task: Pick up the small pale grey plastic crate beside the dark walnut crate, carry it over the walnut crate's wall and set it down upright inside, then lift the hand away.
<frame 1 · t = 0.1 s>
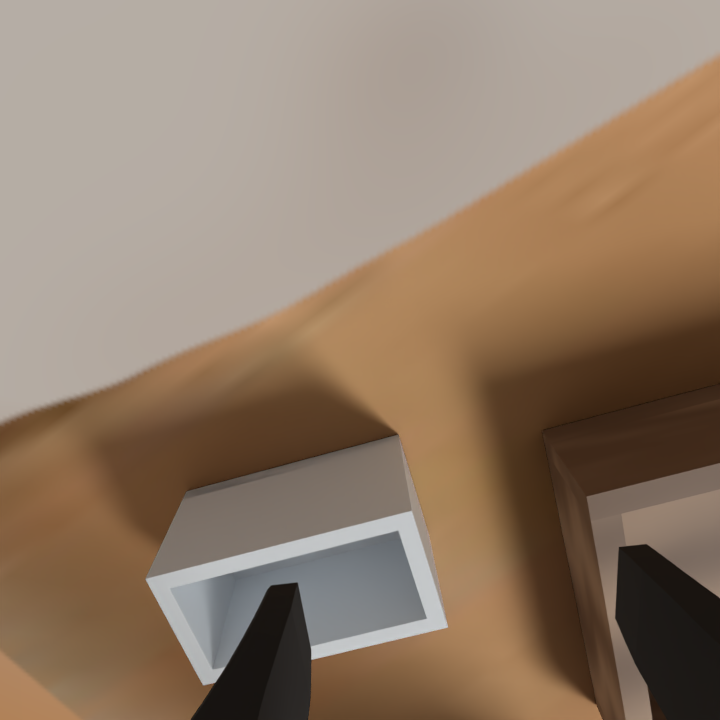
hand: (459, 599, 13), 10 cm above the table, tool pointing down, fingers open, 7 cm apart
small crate: (310, 513, 24), on the table
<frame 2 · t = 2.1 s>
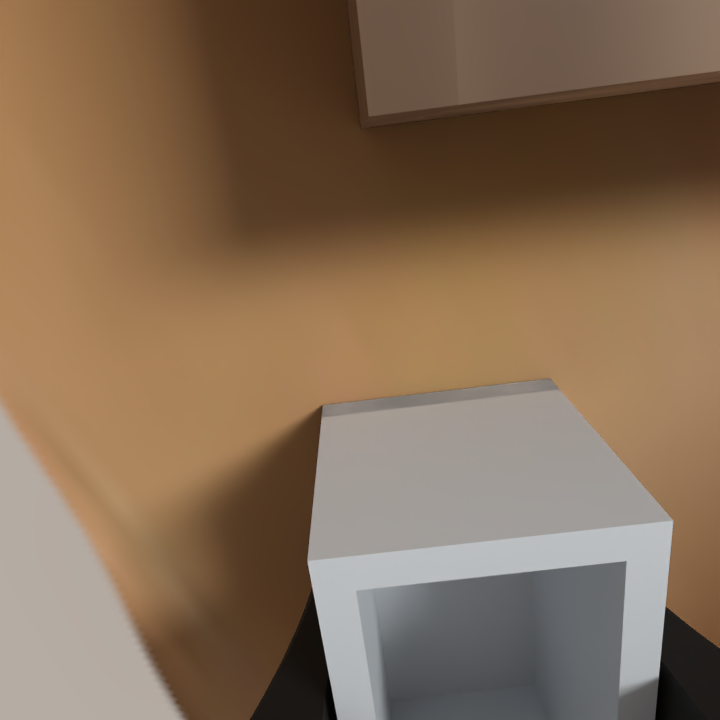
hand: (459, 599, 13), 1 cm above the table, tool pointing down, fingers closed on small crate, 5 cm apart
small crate: (449, 557, 14), on the table, touching gripper
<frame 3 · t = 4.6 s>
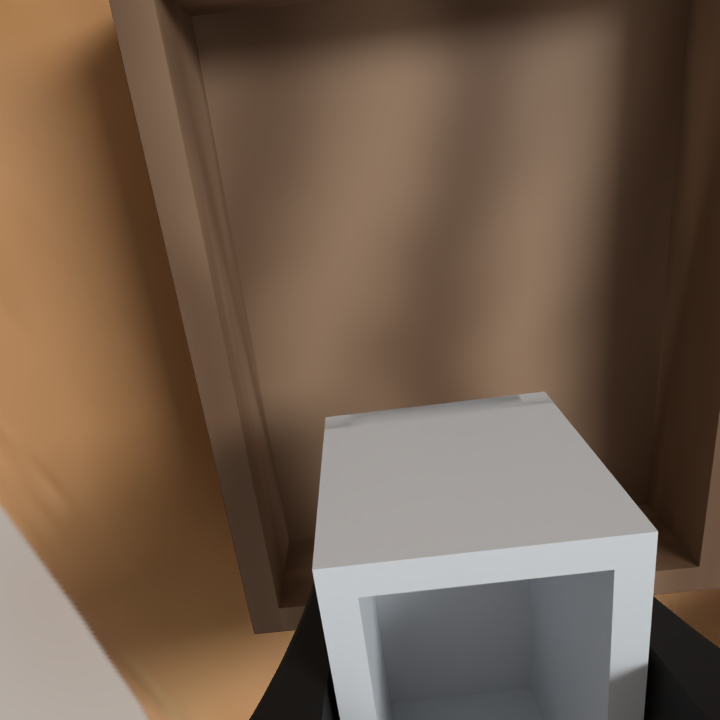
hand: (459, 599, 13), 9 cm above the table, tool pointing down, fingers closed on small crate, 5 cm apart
walnut crate: (450, 292, 20), on the table
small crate: (447, 563, 14), point 8 cm above the table, touching gripper
when the fingers open (4 cm above the table, at t = 7.0 s): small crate drops 1 cm, resting on walnut crate.
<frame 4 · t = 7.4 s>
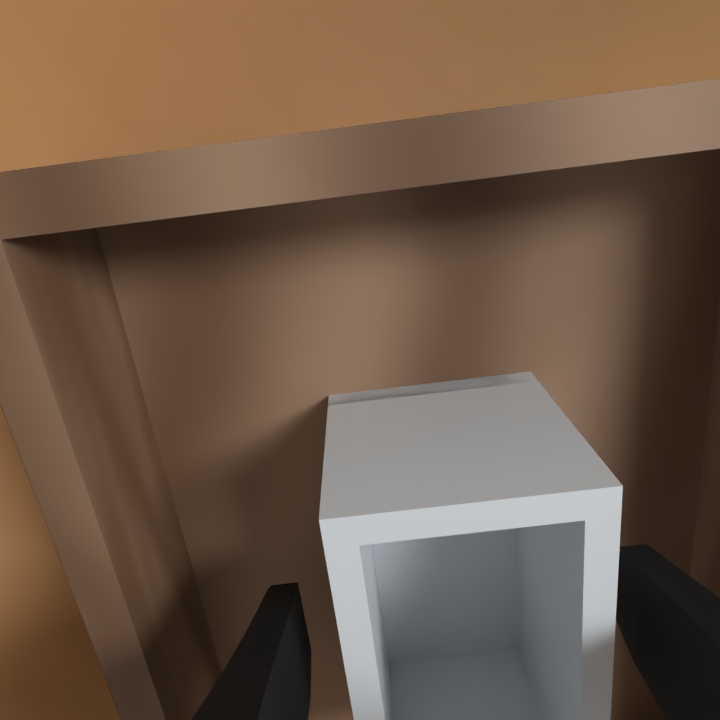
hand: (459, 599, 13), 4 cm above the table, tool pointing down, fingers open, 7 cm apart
walnut crate: (434, 498, 16), on the table
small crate: (441, 532, 16), point 1 cm above the table, touching walnut crate
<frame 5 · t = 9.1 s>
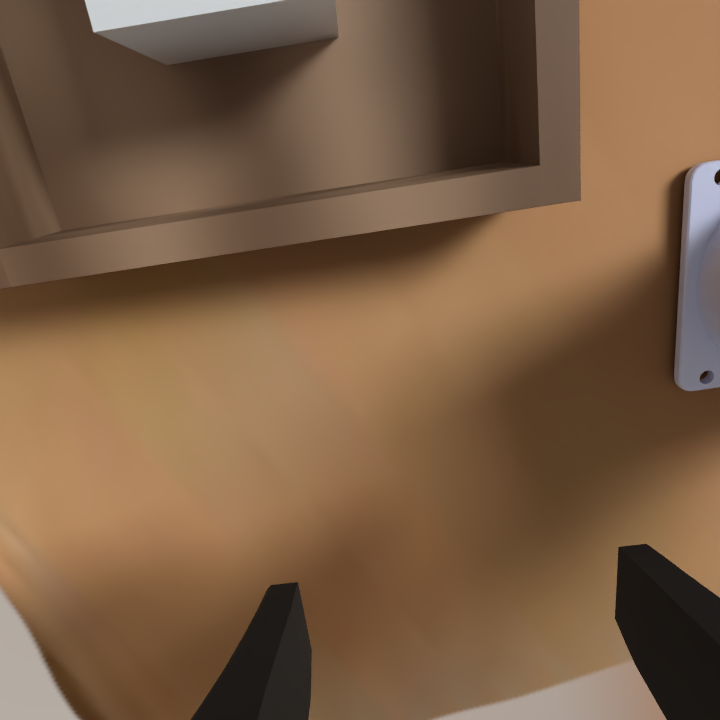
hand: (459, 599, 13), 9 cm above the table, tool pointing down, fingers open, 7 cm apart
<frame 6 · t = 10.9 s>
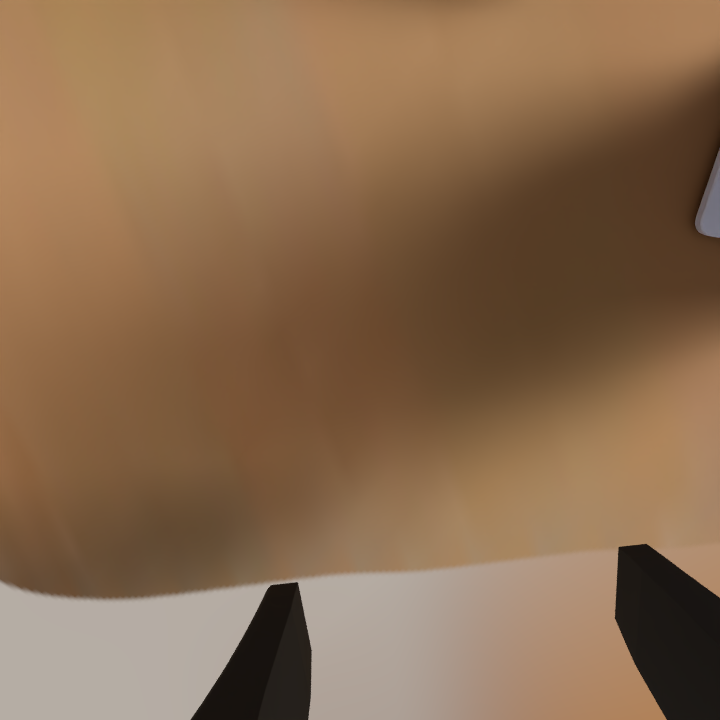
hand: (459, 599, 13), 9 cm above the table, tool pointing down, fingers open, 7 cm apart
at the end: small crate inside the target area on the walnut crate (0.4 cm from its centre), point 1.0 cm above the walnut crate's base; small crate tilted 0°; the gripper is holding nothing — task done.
